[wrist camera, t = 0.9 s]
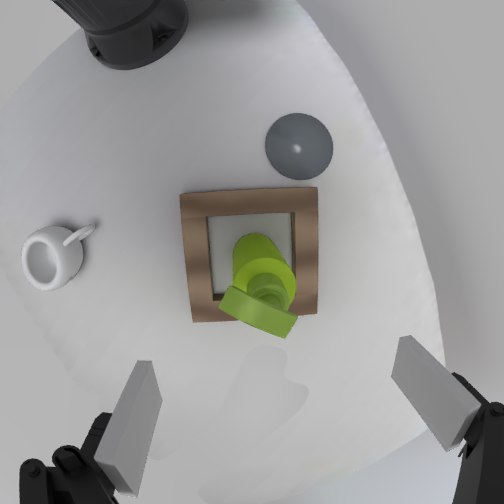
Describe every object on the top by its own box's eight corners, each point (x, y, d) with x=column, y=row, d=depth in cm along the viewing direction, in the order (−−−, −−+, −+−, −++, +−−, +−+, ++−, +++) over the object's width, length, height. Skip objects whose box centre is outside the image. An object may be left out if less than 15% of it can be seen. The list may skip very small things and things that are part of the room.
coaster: (263, 114, 35) (264, 113, 35) (329, 115, 36) (330, 114, 35) (267, 180, 37) (267, 180, 37) (333, 179, 38) (334, 179, 37)
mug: (65, 286, 39) (39, 305, 31) (39, 241, 37) (9, 252, 29) (117, 247, 38) (93, 261, 30) (88, 197, 36) (59, 201, 28)
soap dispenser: (238, 222, 38) (243, 261, 19) (284, 245, 39) (331, 304, 20) (218, 260, 39) (205, 333, 20) (263, 282, 40) (289, 367, 21)
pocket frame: (183, 193, 37) (179, 194, 35) (312, 187, 38) (317, 187, 35) (195, 314, 41) (192, 322, 38) (312, 306, 42) (317, 313, 39)
